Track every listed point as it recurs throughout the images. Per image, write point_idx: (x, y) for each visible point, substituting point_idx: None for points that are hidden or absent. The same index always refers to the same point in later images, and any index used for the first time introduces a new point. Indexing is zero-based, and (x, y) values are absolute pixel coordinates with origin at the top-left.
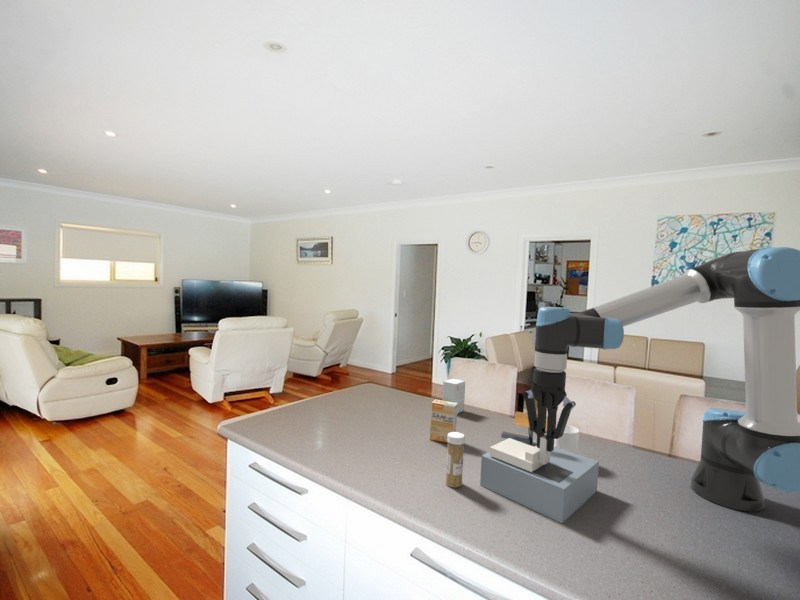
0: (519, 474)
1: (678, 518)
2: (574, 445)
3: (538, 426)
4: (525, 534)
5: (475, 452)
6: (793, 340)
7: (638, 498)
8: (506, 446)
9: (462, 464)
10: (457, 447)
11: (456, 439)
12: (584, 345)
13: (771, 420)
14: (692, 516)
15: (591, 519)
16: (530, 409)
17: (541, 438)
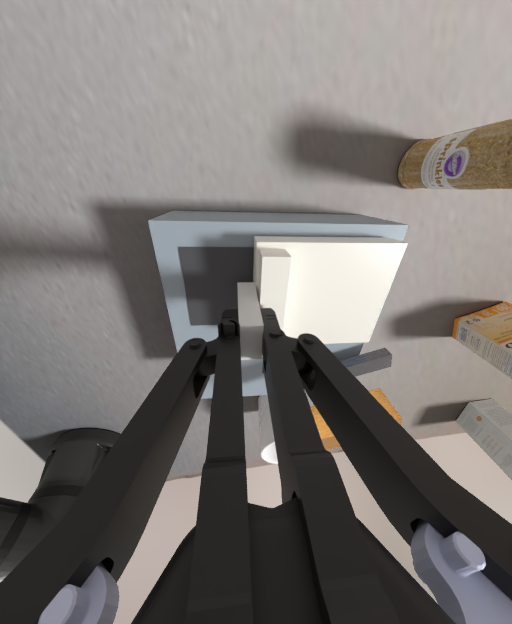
0: (283, 221)
1: (88, 371)
2: (261, 425)
3: (284, 355)
4: (195, 84)
5: (404, 323)
6: None
7: (149, 379)
8: (361, 290)
9: (442, 168)
10: None
11: None
12: None
13: None
14: (83, 387)
15: (152, 271)
16: (370, 424)
17: (258, 323)
